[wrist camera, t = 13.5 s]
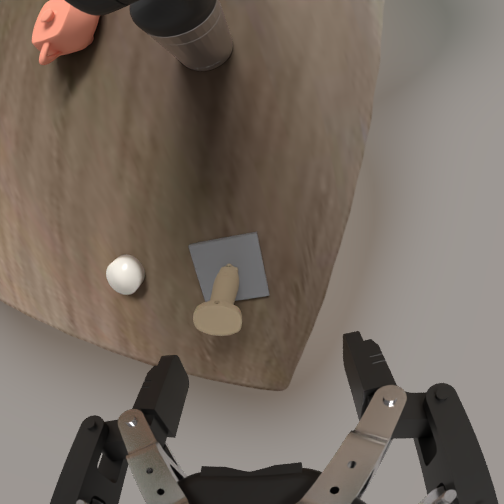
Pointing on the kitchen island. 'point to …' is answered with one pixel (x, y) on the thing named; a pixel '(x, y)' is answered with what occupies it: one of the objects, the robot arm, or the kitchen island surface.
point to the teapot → (62, 30)
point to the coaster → (238, 255)
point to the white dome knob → (125, 274)
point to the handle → (220, 305)
